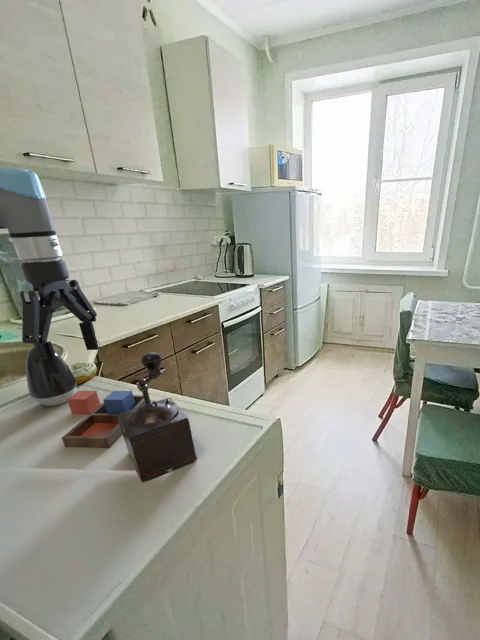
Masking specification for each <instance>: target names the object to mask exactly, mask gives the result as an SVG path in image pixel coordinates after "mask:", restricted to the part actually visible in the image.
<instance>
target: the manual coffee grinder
mask: <svg viewBox="0 0 480 640" xmlns="http://www.w3.org/2000/svg"><path fill="white" fill-rule="evenodd" d="M162 361H163V356H162V355H161V354H160V353H158V352H155V351H153V352H152V351H151V352H147V353H145V354H143V355H142V357H141V358H140V362H141V365H142V366H144V367H145V368H146V369H147V378H140V379H138V381H137V384H136V387H137V388H136V389H138V391H139V392H141V393H142V395H143V397H144V400H145V404H144V405H142V406H140V407H138V408H134V409H131V410H128V411H125V412H123V413H120V414H117V418H118V421H119V424H120V428H121V431H122V437H123V440H124V443H125V446H126V449H127V452H128V456H129V458H130V460H131V462H132V464H133V466H134V468H135V470H134V471H135V473H136V474H137V476H138V478H139V480H140V481H141V483H145V482H147V481H151V480H153V479H155V478H156V479H157V478H158V477H160V476H164V475H166V474H169V473H171V472H173V471H175V470H177V469H181V468H183V467H185V466H187V465H190V464H192V463H194V462H196V461H197V460H198V457H197V454H196V449H195V445H194V439H193V435H192V429H191V424H190V421H189V418H188V417H187V415H186V414H185V412H184V411H183V410H182V409H181V408H180V406H178V404H177V402H176V401H174V400H173V398H172V397H167V398H163V399H160V400H157V401H156V400H154V401H151V397H150V394H149V389H150V387H149V386H148V385H147V384H148V383H149V382H151V381H152V380H154V379H155V380H157V379H158V377H160V376H161V375H163V371H162V370H161V363H162Z"/></svg>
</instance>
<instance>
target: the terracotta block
mask: <svg viewBox="0 0 480 640" xmlns="http://www.w3.org/2000/svg"><path fill="white" fill-rule="evenodd" d="M67 401H68V402H67V404H68V407H69V409H70V413H71V415H89V414H90V413H91V412H93V411H94V410H95V409H96V408H97V407H98V406H100V405H101V401H100V398H99V395H98V393H97V390H77V391H76V393H75V394H74V395H72V396H71V397H69V398H68V399H67Z"/></svg>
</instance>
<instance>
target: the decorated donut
mask: <svg viewBox="0 0 480 640" xmlns="http://www.w3.org/2000/svg"><path fill="white" fill-rule="evenodd" d="M67 365H68V367H69V368H70V370H71V372H72V374H73V375H74V377H75V379H76V382H77V385H79V384H82V383H86V382H88V381H90V380H92V379H93V378H94V377H95V376H96V375H97V369H98V368H97V365H96V364H95V363H94V362H90V361H78V362H74V363H68V364H67Z"/></svg>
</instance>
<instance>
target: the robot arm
mask: <svg viewBox="0 0 480 640" xmlns="http://www.w3.org/2000/svg"><path fill="white" fill-rule="evenodd" d="M47 199H48V198H47V196H46V194H45V191H44V189H43V185H42V183H41V181H40V178H39V176H38V175H37V173H36V172H34V171H33V170H30V169H27V168H13V167H12V168H11V167H10V168H8V167H2V168H1V167H0V230H7V231H8V233H9V236H10V239H11V243H12V246H13V248H14V251H15V253H16V257H17V259H18V260H19V261H22V263H21V264H20V268H21V269H22V272H23V275H24V279H25V281H26V282H28V283H29V284H30V285H31V287H32V290H21V291H20V292H19V295H20V299H21V302H22V320H21V321H22V325H21V326H22V327H21V328H22V329H21V339H22V340H21V341H22V344H30V345H31V344H32V345H33V346H34V347H35V348H36V350H37V352H38V356H39V358H40V359H42V361H43V364H44V367H45V369H46V372H47V373H59V372H61V369H60V366H59V363H58V360H57V357H56V355H55V352H54V350H55V349H54V347H53V346H54V345H53V344H52V341H49V340H48V337H49V332H50V328H51V323H52V318H53V314H54V313H55V312H56V310H57V309H60V308H61V307H64V308H65V309H66V310H68V311H69V312H70V313H71V314H72V315H74V317H76V318H77V319H78V320H79V323H78V325H79V329H80V333H81V335H82V339H83V342H84V344H85V347H86V351H97V350H99V349H100V347H99V343H98V339H97V336H96V331H95V328H94V327H95V326H94V324H93V322H96V321H97V318H96V317H97V316H98V313H97V312H96V310H95V308H94V307H93V306H92V304H91V303H90V301H89V299H88V298H87V296H86V295H85V293H84V292H83V291H82V289H81V287H80V284H79V281H78V280H77V279H69V278H70V274H69V270H68V268H67V263H66V261H65V260H64V259H61V258H62V257H63V256H64V255H63V251H62V249H61V246H60V245H61V244H60V242H59V239H58V235H57V232H56V229H55V226H54V223H53V218H52V215H51V211H50V209H49V208H50V207H49V205H48V201H47Z"/></svg>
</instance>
